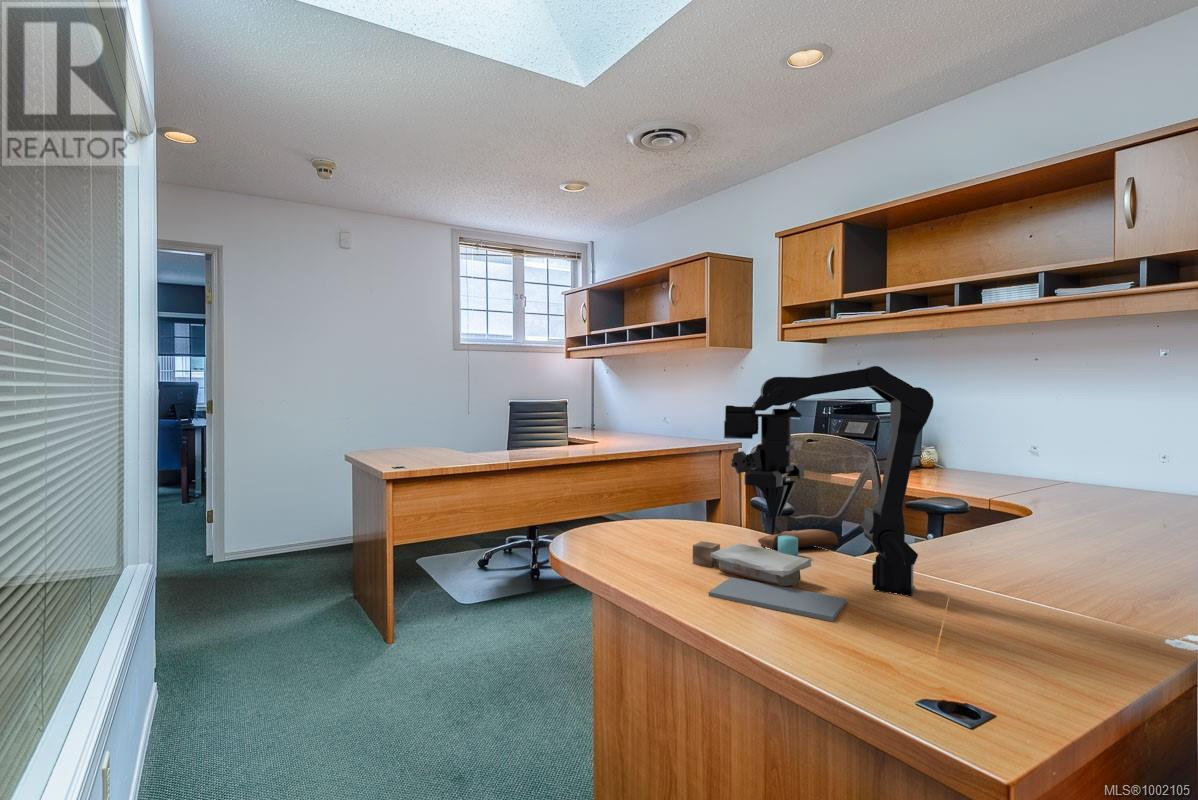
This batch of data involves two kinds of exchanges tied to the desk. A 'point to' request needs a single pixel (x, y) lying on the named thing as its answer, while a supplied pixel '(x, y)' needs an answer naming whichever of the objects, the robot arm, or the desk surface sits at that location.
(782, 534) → the sweet potato
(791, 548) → the teal cylinder
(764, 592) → the mat
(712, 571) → the desk surface
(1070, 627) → the desk surface
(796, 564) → the light grey block
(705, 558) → the walnut block
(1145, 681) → the desk surface
